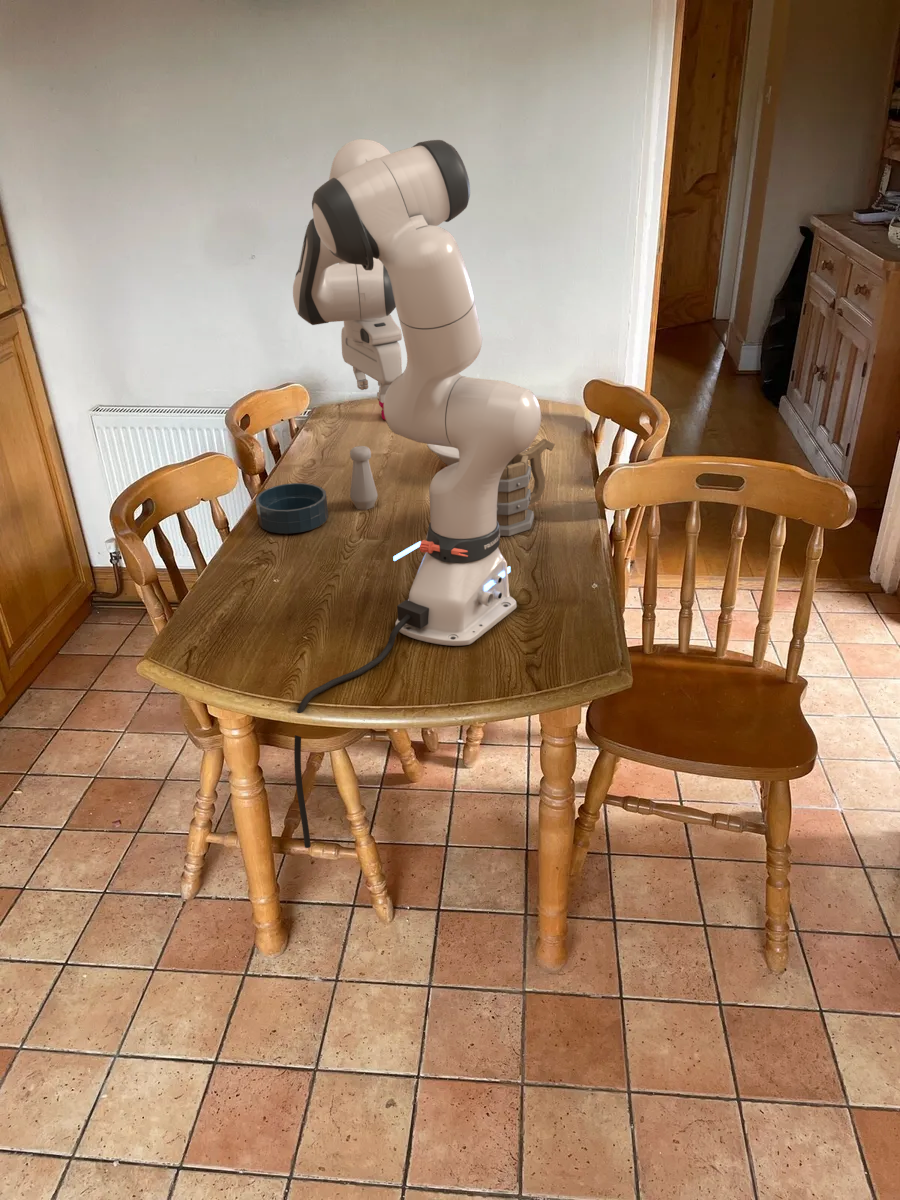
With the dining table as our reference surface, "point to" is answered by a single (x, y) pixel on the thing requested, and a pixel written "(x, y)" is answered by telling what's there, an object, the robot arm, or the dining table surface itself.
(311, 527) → the glazed bowl
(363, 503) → the salt shaker
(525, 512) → the tankard
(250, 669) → the dining table surface
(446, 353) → the robot arm
